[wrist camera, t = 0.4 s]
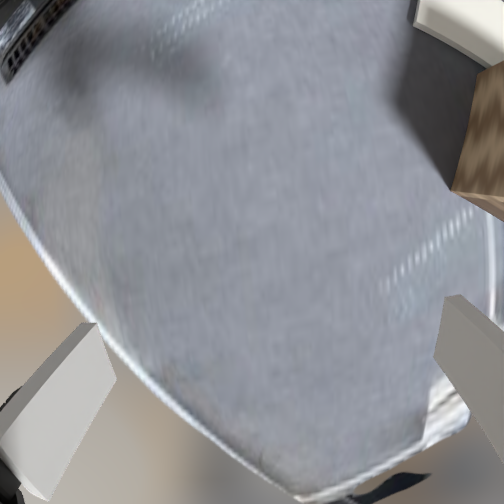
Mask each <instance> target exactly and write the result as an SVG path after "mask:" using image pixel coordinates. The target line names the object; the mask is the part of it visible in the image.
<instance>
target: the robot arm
mask: <svg viewBox="0 0 504 504" xmlns="http://www.w3.org/2000/svg"><path fill="white" fill-rule="evenodd" d="M433 358H434V359H435V361H436V362H437V363H438V365H439V366H440V367H441V369H442V370H443V372H444V373H445V374H446V376H447V377H448V379H449V380H450V382H451V383H452V384H453V386H454V387H455V389H456V390H457V392H458V393H459V395H460V396H461V398H462V399H463V401H464V402H465V404H466V405H467V407H468V408H469V410H470V411H471V413H472V414H473V416H474V417H475V419H476V420H477V422H478V423H479V425H480V427H481V428H482V430H483V431H484V433H485V434H486V436H487V438H488V439H489V441H490V443H491V444H492V446H493V447H494V449H495V451H496V452H497V454H498V456H499V458H500V459H501V461H502V463H503V464H504V332H503V331H502V330H501V329H500V328H499V327H498V326H497V325H496V324H494V323H493V322H492V321H491V320H490V319H489V318H488V317H486V316H485V315H484V314H483V313H482V312H481V311H479V310H478V309H477V308H476V307H475V306H474V305H472V304H471V303H470V302H469V301H468V300H466V299H465V298H464V297H463V296H462V295H454V296H448V297H445V298H444V305H443V311H442V317H441V322H440V328H439V333H438V338H437V343H436V347H435V352H434V356H433ZM116 380H117V378H116V376H115V373H114V371H113V368H112V365H111V363H110V360H109V357H108V354H107V351H106V348H105V346H104V343H103V340H102V337H101V334H100V331H99V328H98V324H97V323H81V324H80V325H79V326H78V327H77V328H76V329H75V330H74V331H73V332H72V333H71V334H70V335H69V336H68V337H67V338H66V339H65V340H64V342H63V343H61V345H60V346H59V347H58V348H57V349H56V350H55V351H54V352H53V353H52V354H51V355H50V356H49V357H48V358H47V359H46V361H45V362H44V363H43V364H42V365H41V366H40V367H39V368H38V369H37V371H36V372H35V373H34V374H33V375H32V376H31V377H30V378H29V379H28V381H27V382H26V383H25V384H24V385H23V386H21V387H20V388H19V389H17V390H16V391H14V392H13V393H12V394H11V395H10V397H9V398H8V399H7V400H6V403H3V405H2V406H1V407H0V504H25V503H24V498H23V495H22V493H21V491H20V490H19V489H18V488H19V486H20V485H21V484H22V485H23V486H24V487H25V488H26V489H27V490H28V491H29V492H30V493H31V494H32V495H35V496H37V497H39V498H41V499H44V500H46V501H49V500H50V498H51V496H52V494H53V492H54V490H55V489H56V487H57V485H58V483H59V481H60V479H61V477H62V475H63V473H64V471H65V470H66V468H67V466H68V464H69V462H70V460H71V458H72V457H73V455H74V453H75V451H76V449H77V447H78V446H79V444H80V442H81V440H82V439H83V437H84V435H85V433H86V432H87V430H88V428H89V426H90V424H91V423H92V421H93V419H94V418H95V416H96V414H97V412H98V411H99V409H100V407H101V405H102V404H103V402H104V400H105V399H106V397H107V395H108V393H109V392H110V390H111V388H112V387H113V385H114V383H115V382H116Z"/></svg>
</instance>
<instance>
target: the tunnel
mask: <svg viewBox="0 0 504 504" xmlns="http://www.w3.org/2000/svg"><path fill="white" fill-rule="evenodd" d="M450 191H451V192H453V193H455V194H457V195H459V196H461V197H462V198H464V199H466V200H468V201H470V202H471V203H473V204H475V205H477V206H478V207H480V208H482V209H483V210H485V211H487V212H488V213H490V214H492V215H493V216H495V217H497V218H498V219H500V220H501V221H503V222H504V60H503V61H502V62H500V63H498V64H496V65H494V66H492V67H490V68H488V69H486V70H484V71H482V72H480V73H478V74H477V78H476V85H475V91H474V97H473V102H472V108H471V113H470V117H469V122H468V127H467V131H466V136H465V140H464V144H463V148H462V152H461V156H460V159H459V163H458V167H457V170H456V174H455V177H454V180H453V184H452V187H451V190H450Z"/></svg>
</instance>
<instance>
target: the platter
mask: <svg viewBox="0 0 504 504" xmlns="http://www.w3.org/2000/svg"><path fill="white" fill-rule="evenodd" d="M413 26H414V27H416V28H418V29H420V30H422V31H424V32H426V33H428V34H430V35H432V36H434V37H435V38H437V39H439V40H441V41H443V42H445V43H446V44H448V45H450V46H452V47H453V48H455V49H457V50H458V51H460V52H462V53H463V54H465V55H467V56H468V57H470V58H471V59H473V60H474V61H476V62H478V63H479V64H481V65H482V66H484V67H485V68H486V69H488V68H490V67H492V66H494V65H496V64H498V63H500V62H502V61H503V60H504V3H503V2H502V1H501V0H418V2H417V7H416V12H415V17H414V22H413Z"/></svg>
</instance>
